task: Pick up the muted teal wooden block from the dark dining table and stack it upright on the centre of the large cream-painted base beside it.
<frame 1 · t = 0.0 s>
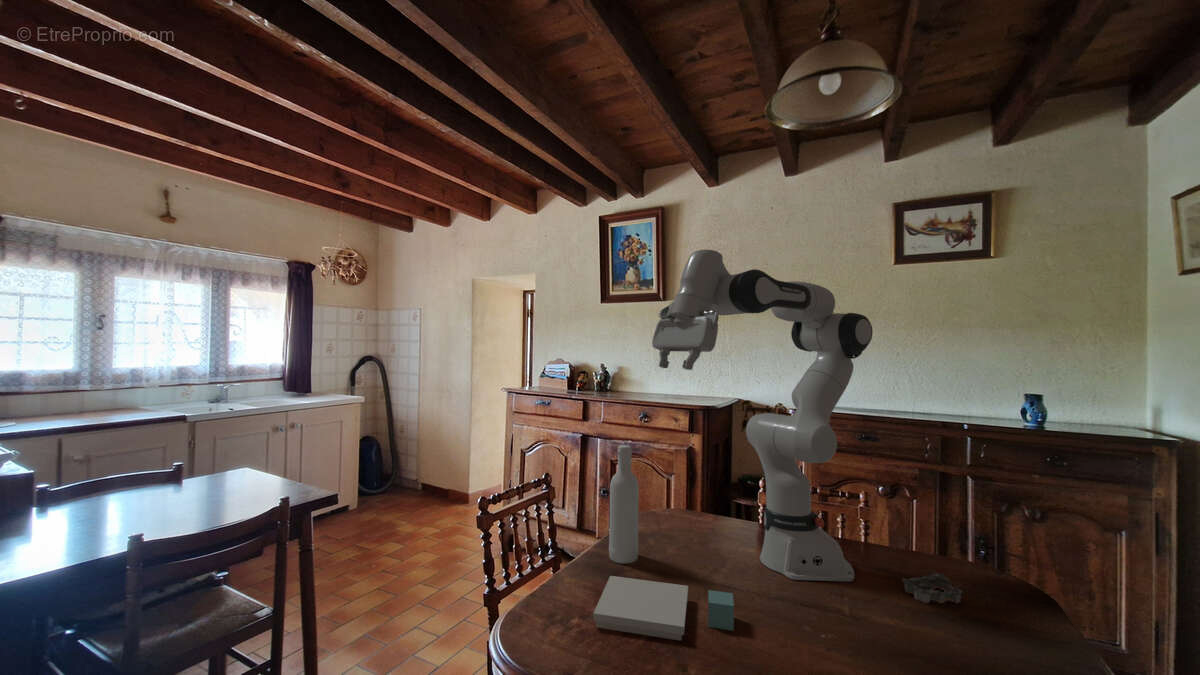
hand: (674, 368, 107), 52 cm above the table, tool tilted 20°, fingers open, 8 cm apart
grey jagged ring: (932, 598, 107), on the table
cream wooden base: (643, 613, 98), on the table
teal block: (720, 622, 95), on the table
bottle: (623, 558, 125), on the table
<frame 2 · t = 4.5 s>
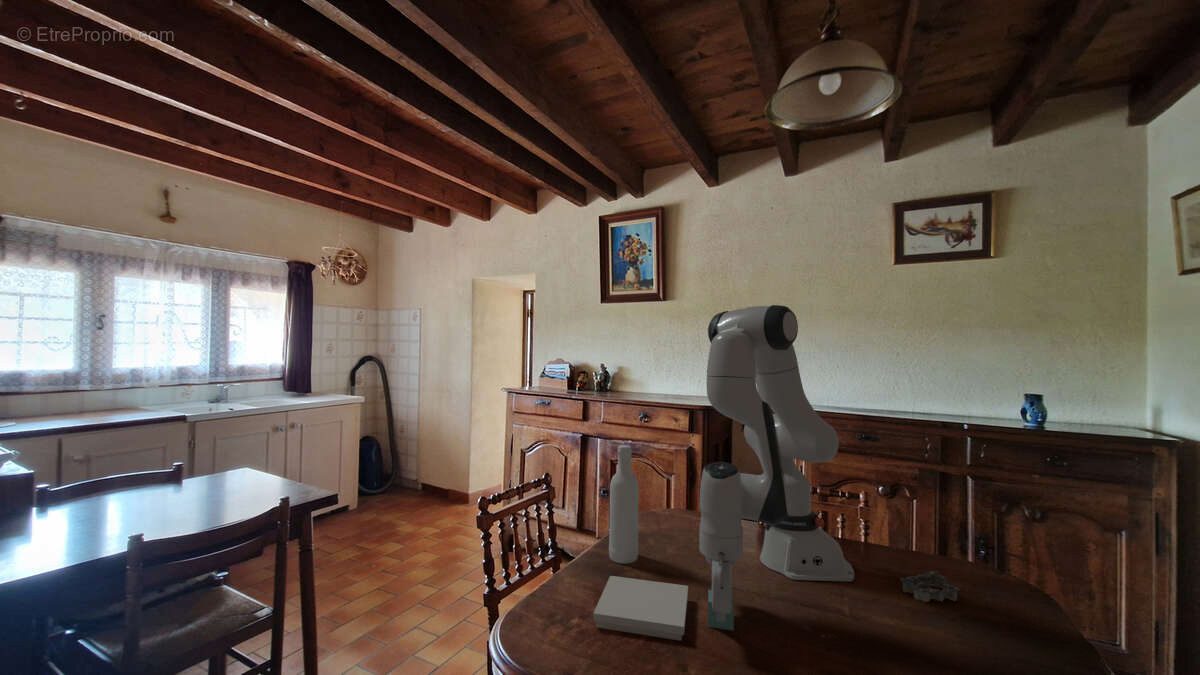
hand: (720, 611, 96), 2 cm above the table, tool pointing down, fingers closed on teal block, 5 cm apart
teal block: (720, 621, 95), on the table, touching gripper
when the fingers open (7 cm above the table, at t = 10.8 s): teal block drops 1 cm, resting on cream wooden base.
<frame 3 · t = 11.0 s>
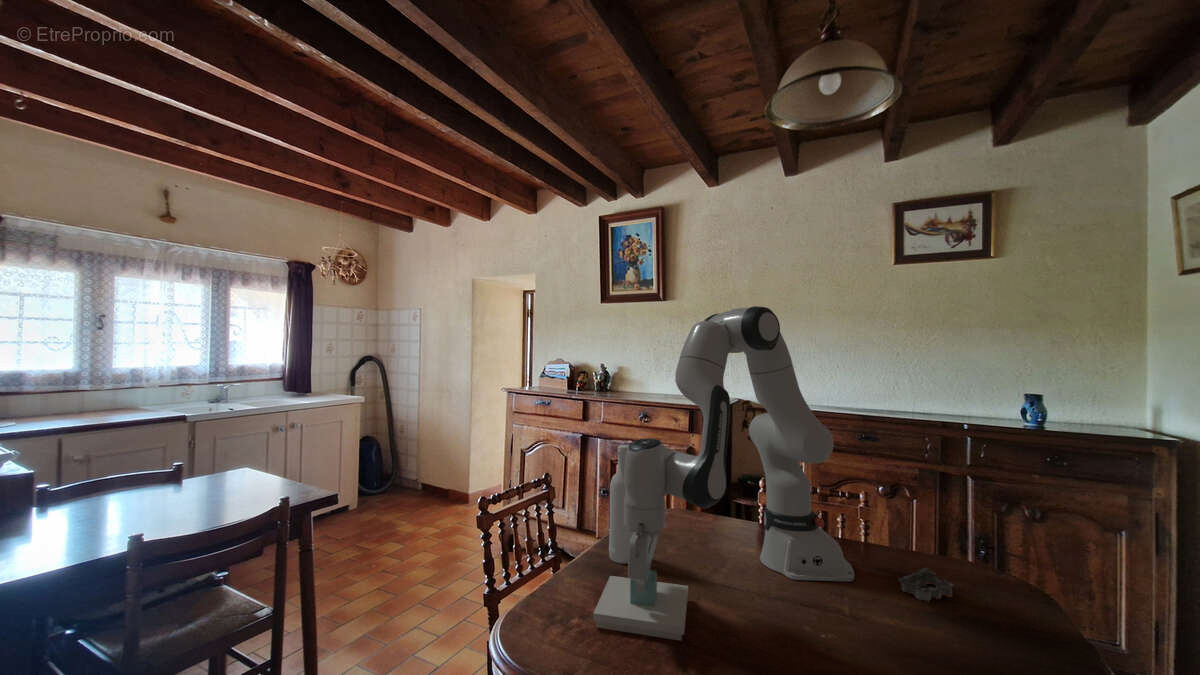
hand: (643, 581, 98), 7 cm above the table, tool pointing down, fingers open, 7 cm apart
teal block: (643, 598, 98), point 3 cm above the table, touching cream wooden base
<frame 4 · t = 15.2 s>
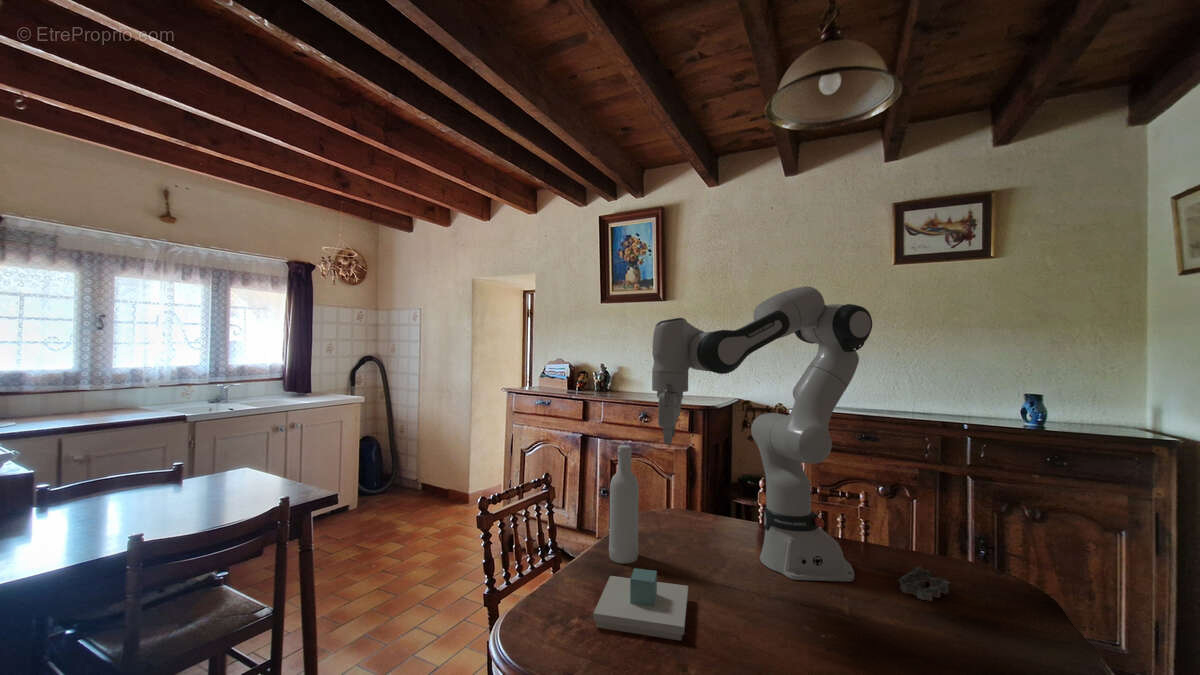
hand: (669, 440, 113), 34 cm above the table, tool pointing down, fingers open, 8 cm apart
at the end: teal block inside the target area on the cream wooden base (0.1 cm from its centre), point 3.0 cm above the cream wooden base's base; teal block tilted 0°; teal block touching cream wooden base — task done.
